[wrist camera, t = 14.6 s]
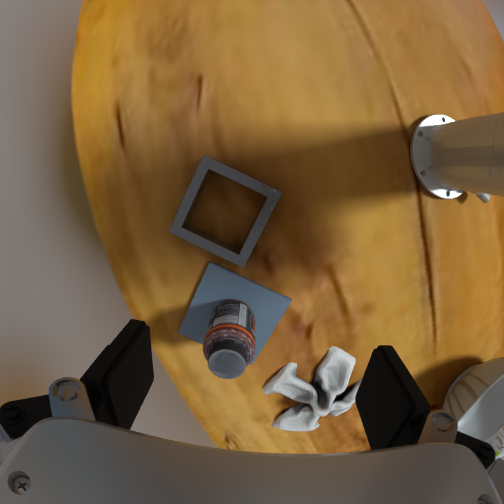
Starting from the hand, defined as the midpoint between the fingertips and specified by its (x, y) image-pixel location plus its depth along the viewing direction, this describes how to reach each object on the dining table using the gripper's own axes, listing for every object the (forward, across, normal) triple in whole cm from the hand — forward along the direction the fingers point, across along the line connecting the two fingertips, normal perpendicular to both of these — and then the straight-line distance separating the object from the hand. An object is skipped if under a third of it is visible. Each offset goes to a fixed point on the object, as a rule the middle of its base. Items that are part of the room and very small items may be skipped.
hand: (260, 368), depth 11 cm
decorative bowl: (+28, -50, +28) cm, 64 cm away
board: (+26, +3, +12) cm, 29 cm away
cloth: (+27, -14, +26) cm, 40 cm away
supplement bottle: (+26, +3, +12) cm, 29 cm away
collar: (+27, +5, -2) cm, 27 cm away
